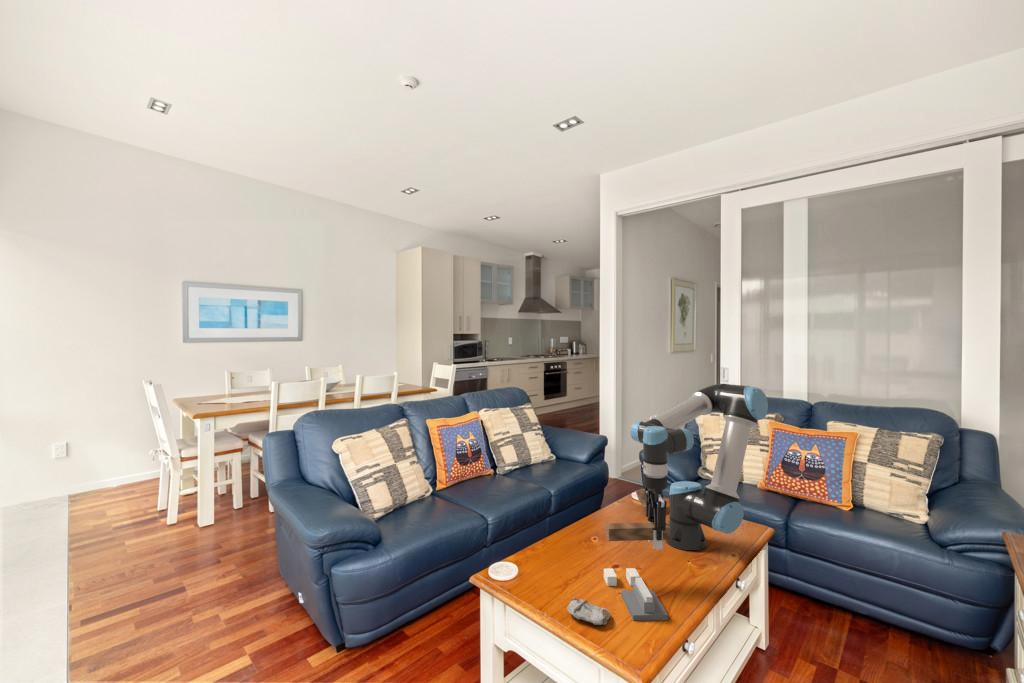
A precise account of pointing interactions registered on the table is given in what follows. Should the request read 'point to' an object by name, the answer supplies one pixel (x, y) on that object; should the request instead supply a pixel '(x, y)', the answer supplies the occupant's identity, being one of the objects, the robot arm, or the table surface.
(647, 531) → the bar
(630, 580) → the blocks
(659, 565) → the table surface
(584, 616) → the stone
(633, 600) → the fulcrum
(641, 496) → the rock
